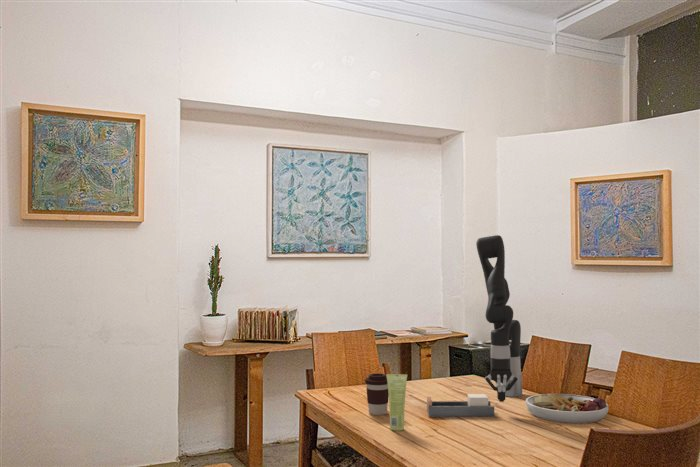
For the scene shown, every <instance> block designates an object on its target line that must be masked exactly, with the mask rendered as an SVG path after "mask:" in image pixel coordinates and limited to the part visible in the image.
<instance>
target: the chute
mask: <svg viewBox="0 0 700 467" xmlns="http://www.w3.org/2000/svg"><path fill="white" fill-rule="evenodd" d="M426 412H427V416H428V418H496V417H495V406H494V405H492V403H491V401H490V400H488V406H468V400H466V401H465V400H461V401H460V400H458V401H457V400H456V401H455V400H454V401H453V400H452V401H451V400H445V401H443V400H440V401H439V400H438V401H437V400H434V401H433V399H432V397H431V396H427V397H426Z"/></svg>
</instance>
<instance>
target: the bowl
mask: <svg viewBox="0 0 700 467" xmlns="http://www.w3.org/2000/svg"><path fill="white" fill-rule="evenodd" d="M525 405H526V408H527V410H528V411H529V412H530V413H531V414H532V415H533V416H535V417H537V418H539V419H543V420H546V421H547V420H548V421H551V422H556V423H565V424H566V423H567V424H587V423H588V424H589V423H593V422H594V423H595V422H597V421H600V420H602V419H604V418H605V417H606V416H607V414H608V412H609V404H608V403H607V401H606V400H604V399H603V398H601V397H595V398H594V397H590V396H586V395H579V394H578V395H577V394H568V393H553V392H551V393H549V392H548V393H543V394H541V393H540V394H534V395H531V396H529V397H527V398H526V399H525Z"/></svg>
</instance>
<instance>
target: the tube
mask: <svg viewBox="0 0 700 467" xmlns="http://www.w3.org/2000/svg"><path fill="white" fill-rule="evenodd" d="M385 375H386V377H387V383H388V393H389V396H388V405H389V429H390V430H391V431H393V432H394V431H396V432H399V431H403V430H404V429H405V407H406V406H405V405H406V392H407V390H406V389H407V379H408V374H405V373H404V374H403V373H402V374H395V373H394V374H393V373H391V374H390V373H388V374H387V373H386V374H385Z"/></svg>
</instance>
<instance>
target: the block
mask: <svg viewBox="0 0 700 467" xmlns="http://www.w3.org/2000/svg"><path fill="white" fill-rule="evenodd" d="M467 401H468V406H488V401H489V397H488V396H487V394H486V393H479V394H478V393H467Z"/></svg>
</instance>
